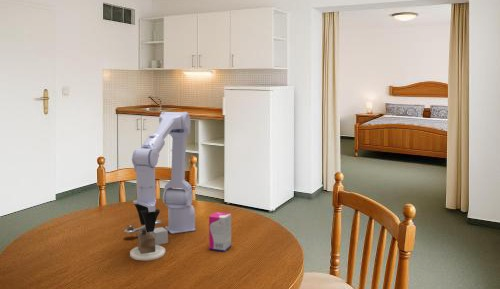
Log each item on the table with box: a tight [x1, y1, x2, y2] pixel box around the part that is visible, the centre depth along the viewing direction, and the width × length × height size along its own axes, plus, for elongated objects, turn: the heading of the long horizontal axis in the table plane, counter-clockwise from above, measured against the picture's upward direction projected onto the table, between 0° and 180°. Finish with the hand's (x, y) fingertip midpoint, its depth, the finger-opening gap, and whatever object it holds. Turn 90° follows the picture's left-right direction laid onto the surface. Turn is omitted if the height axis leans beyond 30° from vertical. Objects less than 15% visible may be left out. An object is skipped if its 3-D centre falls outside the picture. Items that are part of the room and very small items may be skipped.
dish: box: [129, 245, 166, 262], centre depth 145 cm, size 11×11×1 cm
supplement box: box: [208, 211, 232, 253], centre depth 150 cm, size 6×6×12 cm
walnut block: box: [137, 233, 155, 254], centre depth 144 cm, size 4×4×4 cm
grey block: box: [149, 226, 169, 246], centre depth 155 cm, size 4×4×4 cm
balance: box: [124, 219, 162, 239], centre depth 161 cm, size 13×4×5 cm, turn 116°
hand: (147, 227), depth 144 cm, fingers open, 7 cm apart
